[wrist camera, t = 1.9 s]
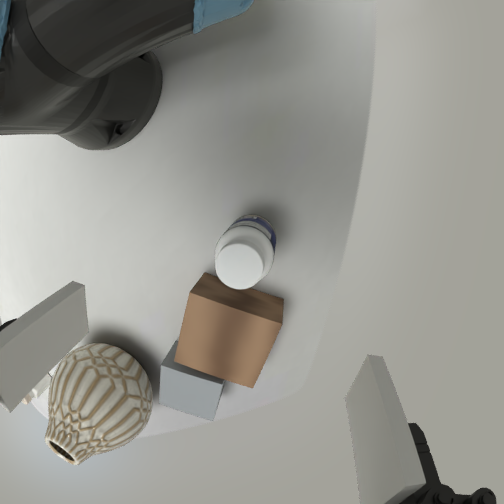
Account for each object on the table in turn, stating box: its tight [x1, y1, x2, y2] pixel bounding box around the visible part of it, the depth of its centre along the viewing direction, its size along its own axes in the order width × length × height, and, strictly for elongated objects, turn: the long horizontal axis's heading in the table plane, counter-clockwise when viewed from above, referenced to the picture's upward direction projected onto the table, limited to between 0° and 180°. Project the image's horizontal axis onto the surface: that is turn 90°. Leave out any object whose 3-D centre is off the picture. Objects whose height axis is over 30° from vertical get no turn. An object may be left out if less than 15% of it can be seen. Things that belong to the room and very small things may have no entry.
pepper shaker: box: [22, 373, 51, 404], centre depth 43 cm, size 4×4×10 cm
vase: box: [45, 343, 153, 465], centre depth 32 cm, size 16×16×20 cm
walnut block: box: [174, 273, 284, 388], centre depth 33 cm, size 10×10×6 cm
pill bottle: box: [215, 215, 276, 289], centre depth 28 cm, size 5×5×10 cm
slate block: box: [159, 340, 225, 421], centre depth 37 cm, size 8×8×6 cm
